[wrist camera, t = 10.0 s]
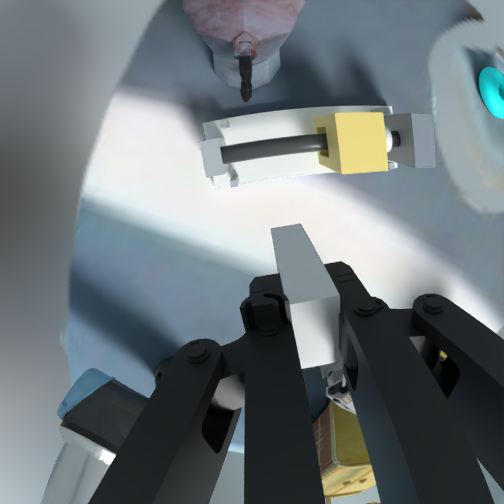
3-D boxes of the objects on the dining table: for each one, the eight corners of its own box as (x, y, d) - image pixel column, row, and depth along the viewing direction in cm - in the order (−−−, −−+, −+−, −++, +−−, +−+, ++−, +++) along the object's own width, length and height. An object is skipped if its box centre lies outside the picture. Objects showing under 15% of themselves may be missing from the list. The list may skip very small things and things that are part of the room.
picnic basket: (352, 442, 68) (368, 518, 41) (278, 442, 66) (283, 531, 38) (405, 389, 57) (442, 481, 29) (321, 387, 54) (345, 509, 27)
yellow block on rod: (319, 163, 32) (341, 174, 24) (313, 118, 30) (334, 113, 22) (356, 160, 32) (388, 170, 24) (351, 116, 30) (382, 112, 21)
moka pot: (277, 15, 26) (297, -70, 8) (290, 113, 33) (332, 89, 14) (208, 21, 27) (171, -58, 9) (218, 119, 33) (179, 103, 15)
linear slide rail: (215, 187, 37) (201, 207, 27) (204, 123, 33) (184, 119, 23) (393, 166, 35) (435, 180, 25) (387, 106, 31) (430, 102, 21)
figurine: (353, 313, 46) (382, 375, 32) (361, 353, 50) (384, 411, 36) (305, 330, 47) (320, 397, 33) (319, 368, 51) (333, 429, 38)
